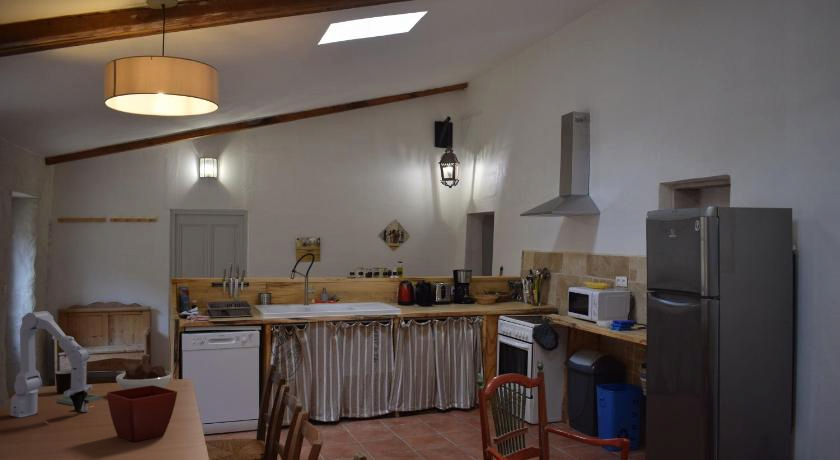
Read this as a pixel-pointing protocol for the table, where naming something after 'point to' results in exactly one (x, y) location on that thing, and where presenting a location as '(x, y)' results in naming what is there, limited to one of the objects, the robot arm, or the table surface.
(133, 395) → the plant pot
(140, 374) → the white bowl of food
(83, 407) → the crank
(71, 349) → the robot arm
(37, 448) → the table surface
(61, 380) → the coffee mug
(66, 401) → the tray
